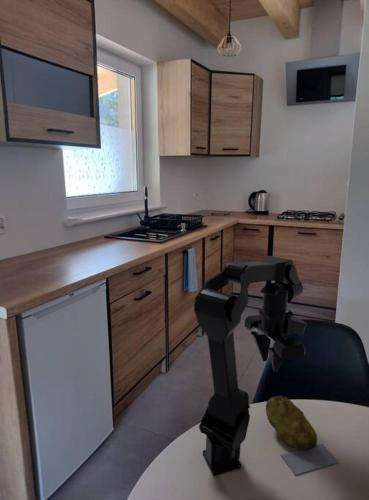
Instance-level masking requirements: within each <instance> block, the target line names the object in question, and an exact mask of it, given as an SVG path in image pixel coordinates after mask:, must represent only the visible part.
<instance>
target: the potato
mask: <svg viewBox="0 0 369 500" xmlns="http://www.w3.org/2000/svg"><path fill="white" fill-rule="evenodd" d="M265 414H266V417H267V419H268V422H269V424H270V425H271V426H272V428H273V429H275V431H276V432H277V435H278V438H280V439H281V440H282V441H283V442H284V443H286V444H287V445H289V446H290V447H293V448H295V449H298V450H301V449H303V450H310V449H313V448H314V447H316V445H318V444H317V443H318V436H317V432H316V431H315V429H314V428H313V426H312V424H311V422H310V421H309V419H308V418H307V417H306V416H305V414H304V412H303V411H302V410H301V409H300V408H299V407H298V406H296V405H295V404H294V403H293V401H292V400H291V399H289V398H288V397H286V396H283V395H275V396H272V397H270V398H268V399H267V401H266V404H265Z"/></svg>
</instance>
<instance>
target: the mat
mask: <svg viewBox="0 0 369 500" xmlns="http://www.w3.org/2000/svg"><path fill="white" fill-rule="evenodd" d="M280 457H281V458H282V459H283V461H284V462H285V464H286V465H287V466H288V468H289V469H290V470H291V472H292V473H293V474H294V476H298V475H301V474H302V475H303V474H305V473H308V472H312V471H315V470H319V469H322V468H325V467H329V466H332V465H336V464H339V463H340V460H338V459H337V458H336V457H335V456H334V455H333V454H332V452H331V451H329V449H328V448H327V447H326V446H325V445H324V444H323V443H321V444H316V447H314V448H313V449H310V450H303V449H298V450H295V451H291V452H286V453H283V454H280Z"/></svg>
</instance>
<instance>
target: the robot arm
mask: <svg viewBox="0 0 369 500" xmlns="http://www.w3.org/2000/svg"><path fill="white" fill-rule="evenodd" d="M297 271H298V270H297V267H296V265H295V264H294V261H293V259H291V258H284V257H279V256H278V257H277V256H272V255H266V256H264V257H261V258H260V261H247V262H245V261H243V262H235V261H230V262H227V263H225V265H224V266H223V268H222V270H221V271H220V272H218V273H217V274H215V275H214V276H212V277H211V278H209V279H207V280H206V281H205V282H204V284H203V285H202V287H201V289H200V290H199V292H198V293H197V295H196V296H195V298H194V301H193V309H194V310H193V311H194V315H195V317H196V321H197V324H198V325H199V327H200V328H201V329H202V331H203V332H204V333H205V335H206V337H207V343H208V351H209V359H210V367H211V368H210V369H211V375H212V376H211V377H212V384H213V394H212V396H211V397H210V398H209V399H208V402H207V407H206V410H205V411H204V414H203V416H202V418H201V420H200V423H199V425H198V429H199V432H200V433H201V434H203V435H205V437H206V438H205V449H204V450H202V455H203V457H204V459H205V462H206V463H207V465H208V468H209V470H210V472H211V474H212V475H213V476H218V475H222V474H225V473H230V472H233V471H236V470H240V469H242V464H241V462H240V461H239V460H240V458H241V444H242V443H243V442H244V441H245V440H246V438H247V432H248V428H249V423H250V417H251V415H250V408H251V405H250V403H249V399H250V396H249V393H248V392H247V391H244V390H242V389H239V385H238V384H239V383H238V382H239V381H238V372H237V371H238V370H237V357H236V351H235V350H236V348H235V337H234V336H235V335H234V332H235V330H236V329H237V327H238V326H239V324H240V323H241V321H242V317H241V316H242V315H243V313H244V311H245V309H246V308H247V306H248V304H249V291H248V289H249V286H250V285H251V284H253V283H259V282H260V283H261V282H266V283H265V285H264V286H262V288H261V289H260V293H261V294H262V295H263V297H262V308H259V309H258V313H259V314H255V315H249V316H247V317H245V319H244V327H245V328H246V330H247V329H248V331H250V335H251V336H252V339H253V341H254V343H255V345H256V348H257V349H258V352H259V355H260V357H261V359H262V361H263V362H267V361H268V358H270V363H271V366H272V371H273V372H275V373H276V372H279V370H280V368H281V366H282V364H283V363H284V361H285V360H289V359H293V358H300V357H304V356H305V355H306V346H305V345H304V344H303V343H302V342H301V341H299V340H298V339H297V338H296V337H293V336H292V337H288V338H286V337H285V336H289V335H292V333H294V334H299V336H303V335H304V334H305V330H306V327H307V325H308V323H307V322H305V320H303V319H301V318H299V317H297V316H295V315H294V312H293V311H292V310H290V309H288V303H290V302H292V301H293V300H295V299H296V298H298V297H299V296H301V295H302V293H303V291H304V287H303V283H302V281H301V280H300V279H299V275H298V272H297ZM267 281H272V282H271V283H270V282H267ZM229 283H232V284H233V283H234V284H237V285H240V291H239V293H238V294H237V296H236V295H235V294H234V295H233V294H230V293H226V292H223V291H220V290H221V289H223V288H224V287H226V286H227V285H228V284H229ZM252 329H253V330H252ZM251 330H252V331H251ZM284 335H285V336H284ZM271 341H272V342H274V343H273V347H270V346H271Z"/></svg>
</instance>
